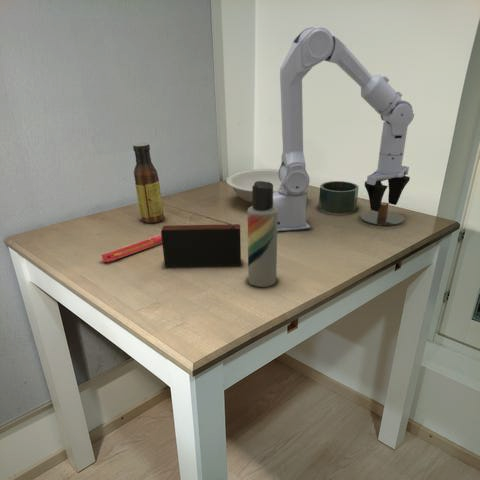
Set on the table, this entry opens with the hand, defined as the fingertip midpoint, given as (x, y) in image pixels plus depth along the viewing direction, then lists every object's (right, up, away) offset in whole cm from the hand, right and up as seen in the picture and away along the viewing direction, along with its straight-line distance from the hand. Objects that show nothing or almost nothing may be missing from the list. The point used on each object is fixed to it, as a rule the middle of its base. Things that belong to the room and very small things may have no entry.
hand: (383, 207), depth 123 cm
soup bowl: (-29, +6, +18) cm, 35 cm away
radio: (-47, -17, -19) cm, 53 cm away
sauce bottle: (-61, -2, +6) cm, 62 cm away
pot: (-10, +2, +11) cm, 15 cm away
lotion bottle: (-33, -22, -26) cm, 47 cm away
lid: (0, -3, +2) cm, 3 cm away
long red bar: (-60, -12, -10) cm, 61 cm away
